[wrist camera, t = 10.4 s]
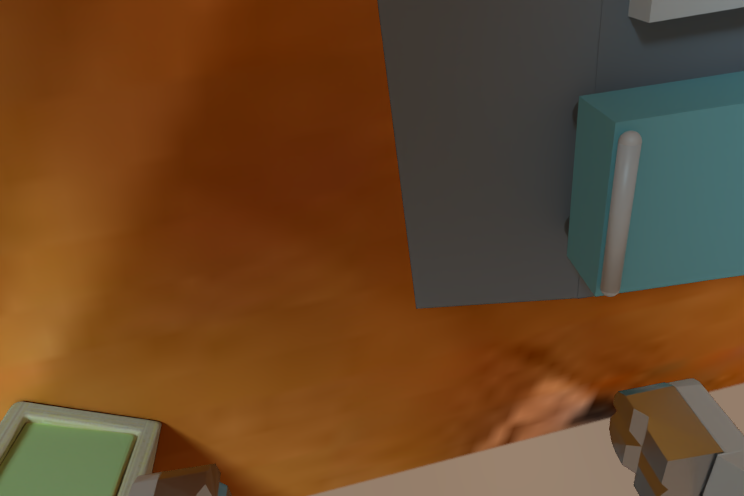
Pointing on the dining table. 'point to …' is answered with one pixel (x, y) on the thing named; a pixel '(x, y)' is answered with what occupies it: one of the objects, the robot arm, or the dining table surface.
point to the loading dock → (520, 124)
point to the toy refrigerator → (73, 451)
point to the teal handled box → (658, 185)
